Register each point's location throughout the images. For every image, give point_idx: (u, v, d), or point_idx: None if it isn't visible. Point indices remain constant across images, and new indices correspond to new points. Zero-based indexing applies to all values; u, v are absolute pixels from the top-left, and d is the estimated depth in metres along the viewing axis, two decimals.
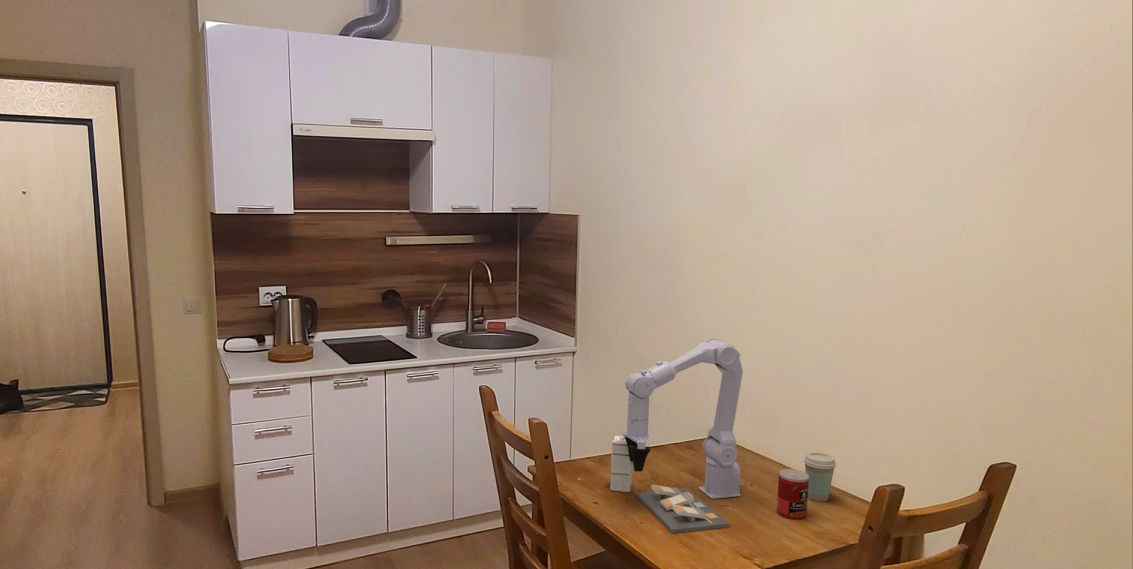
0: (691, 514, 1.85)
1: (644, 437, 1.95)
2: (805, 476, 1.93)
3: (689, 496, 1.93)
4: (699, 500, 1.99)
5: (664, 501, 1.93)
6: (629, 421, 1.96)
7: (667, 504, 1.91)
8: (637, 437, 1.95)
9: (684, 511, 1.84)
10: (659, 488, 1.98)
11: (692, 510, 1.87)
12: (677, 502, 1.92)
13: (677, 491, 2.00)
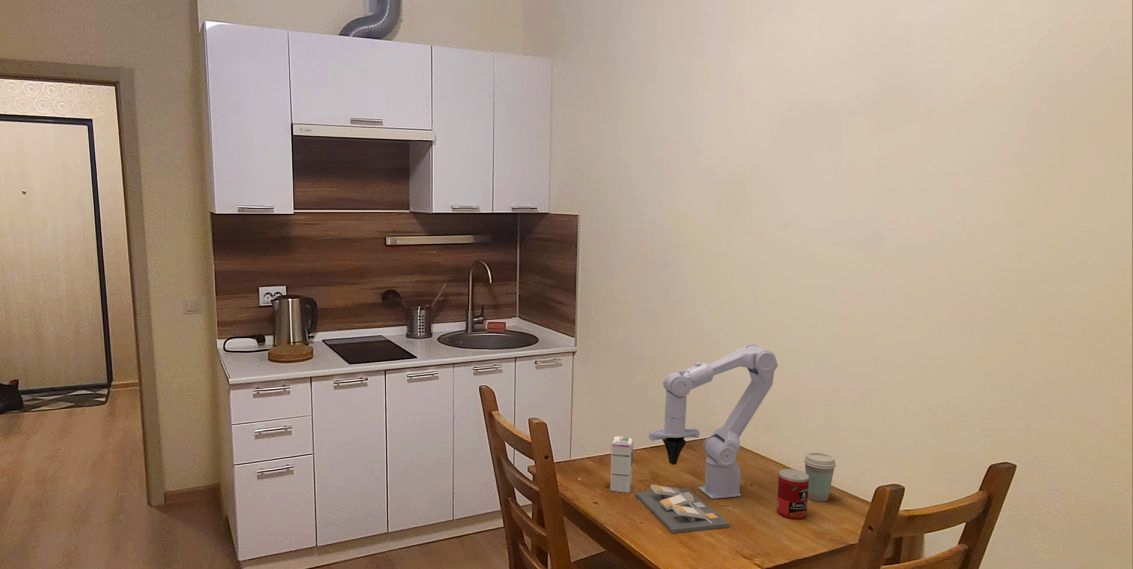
0: (691, 514, 1.85)
1: None
2: (805, 476, 1.93)
3: (689, 496, 1.93)
4: (699, 500, 1.99)
5: (664, 501, 1.93)
6: None
7: (667, 504, 1.91)
8: (663, 432, 2.02)
9: (684, 511, 1.84)
10: (659, 488, 1.98)
11: (692, 510, 1.87)
12: (677, 502, 1.92)
13: (677, 491, 2.00)
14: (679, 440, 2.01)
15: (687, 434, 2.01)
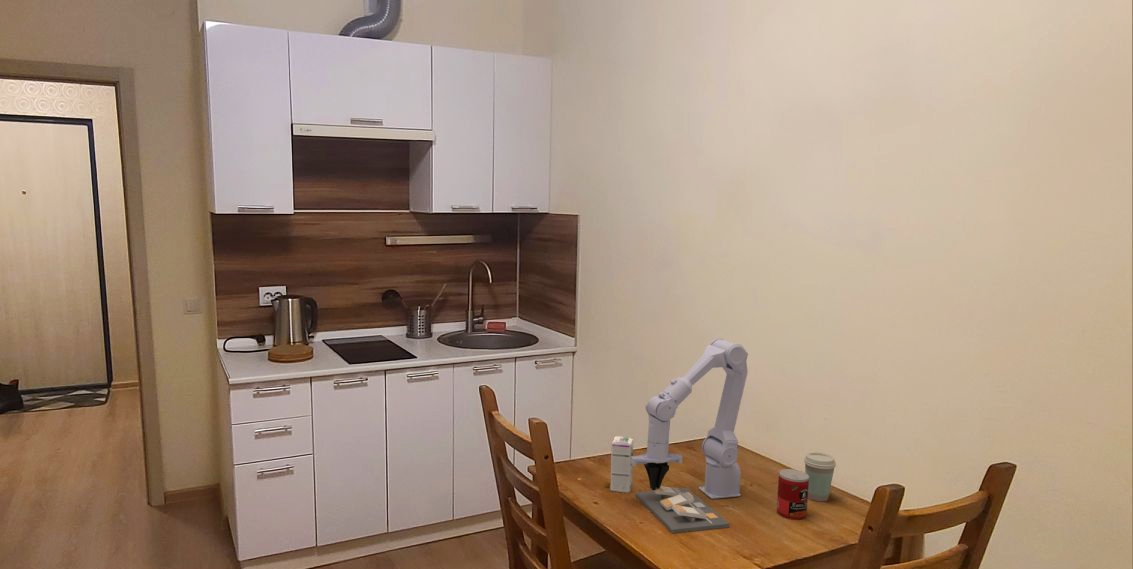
0: (691, 514, 1.85)
1: None
2: (805, 476, 1.93)
3: (689, 496, 1.93)
4: (699, 500, 1.99)
5: (664, 501, 1.93)
6: None
7: (667, 504, 1.91)
8: (646, 456, 1.98)
9: (684, 511, 1.84)
10: None
11: (692, 510, 1.87)
12: (677, 502, 1.92)
13: (677, 491, 2.00)
14: (662, 465, 1.97)
15: (670, 459, 1.97)
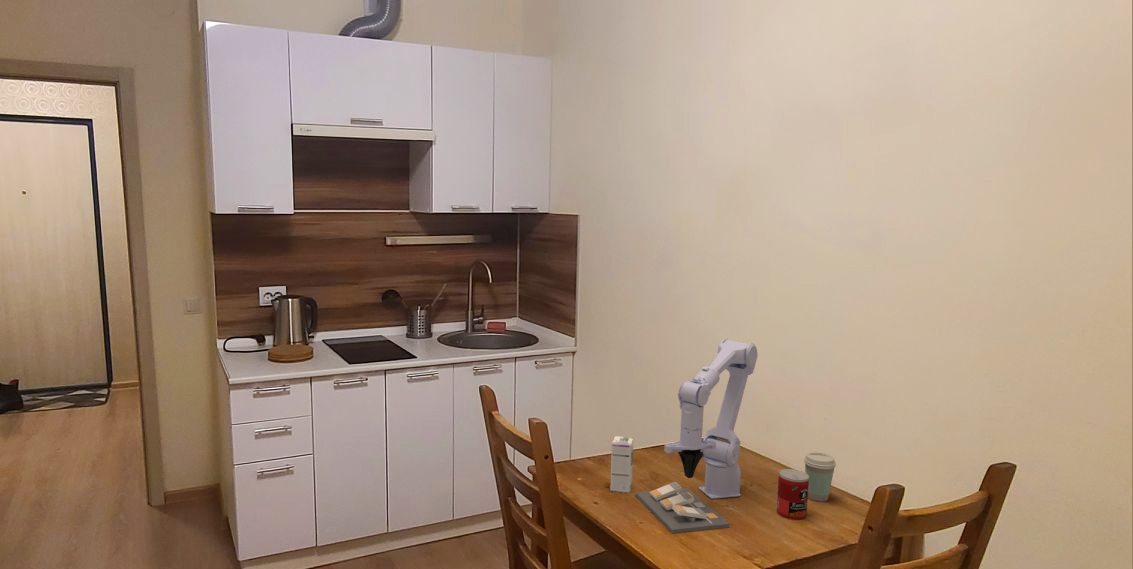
0: (691, 514, 1.85)
1: (684, 446, 1.90)
2: (805, 476, 1.93)
3: (689, 496, 1.93)
4: (699, 500, 1.99)
5: (664, 501, 1.93)
6: None
7: (667, 504, 1.91)
8: (679, 444, 1.92)
9: (684, 511, 1.84)
10: (657, 493, 1.98)
11: (692, 510, 1.87)
12: (677, 502, 1.92)
13: (675, 486, 2.00)
14: (696, 452, 1.92)
15: (704, 446, 1.92)
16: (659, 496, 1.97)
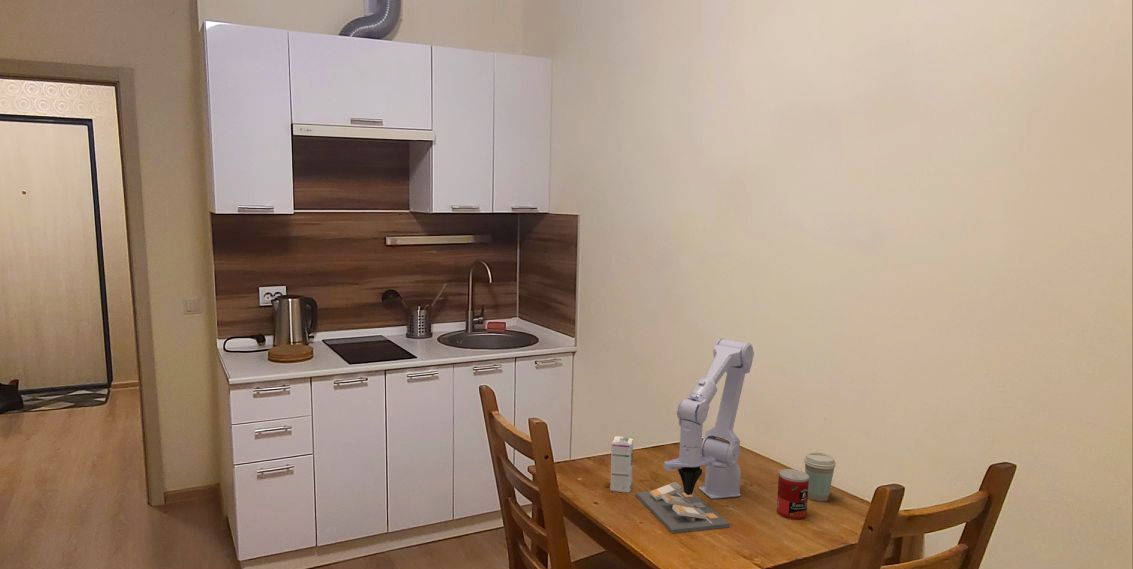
0: (691, 514, 1.85)
1: (683, 464, 1.91)
2: (805, 476, 1.93)
3: (690, 502, 1.93)
4: (699, 500, 1.99)
5: (666, 495, 1.93)
6: None
7: (669, 498, 1.91)
8: (678, 461, 1.93)
9: (684, 511, 1.84)
10: (657, 493, 1.98)
11: (692, 510, 1.87)
12: (678, 501, 1.92)
13: (675, 486, 2.00)
14: (695, 469, 1.92)
15: (703, 463, 1.92)
16: (659, 496, 1.97)
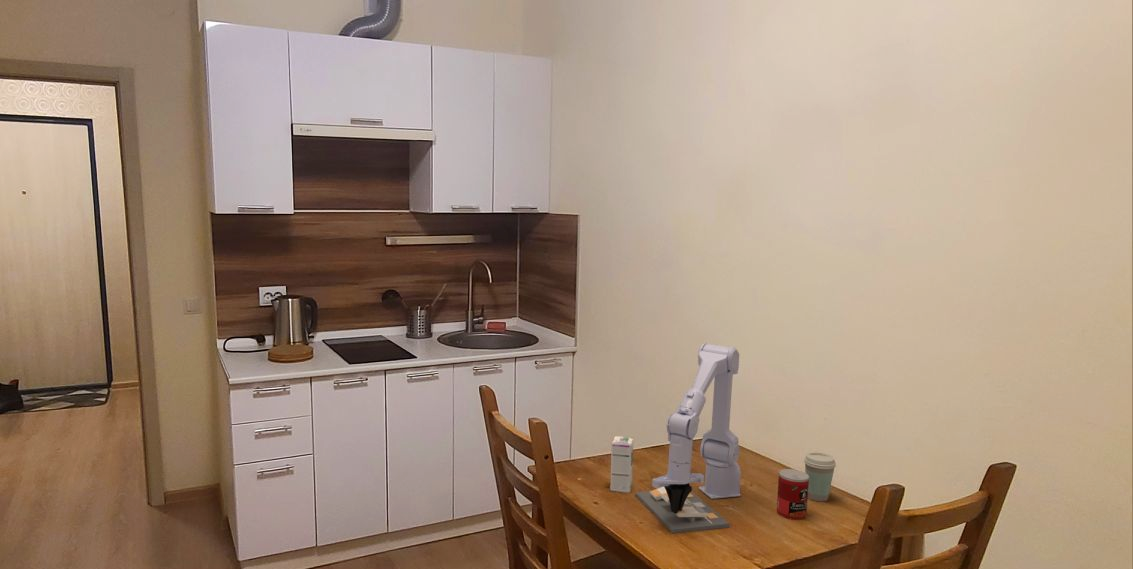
0: (691, 514, 1.85)
1: (672, 481, 1.82)
2: (805, 476, 1.93)
3: (690, 502, 1.93)
4: (699, 500, 1.99)
5: (666, 495, 1.93)
6: None
7: None
8: (667, 478, 1.84)
9: (683, 512, 1.84)
10: (657, 493, 1.98)
11: (691, 510, 1.87)
12: None
13: None
14: (684, 486, 1.84)
15: (693, 480, 1.84)
16: (659, 496, 1.97)
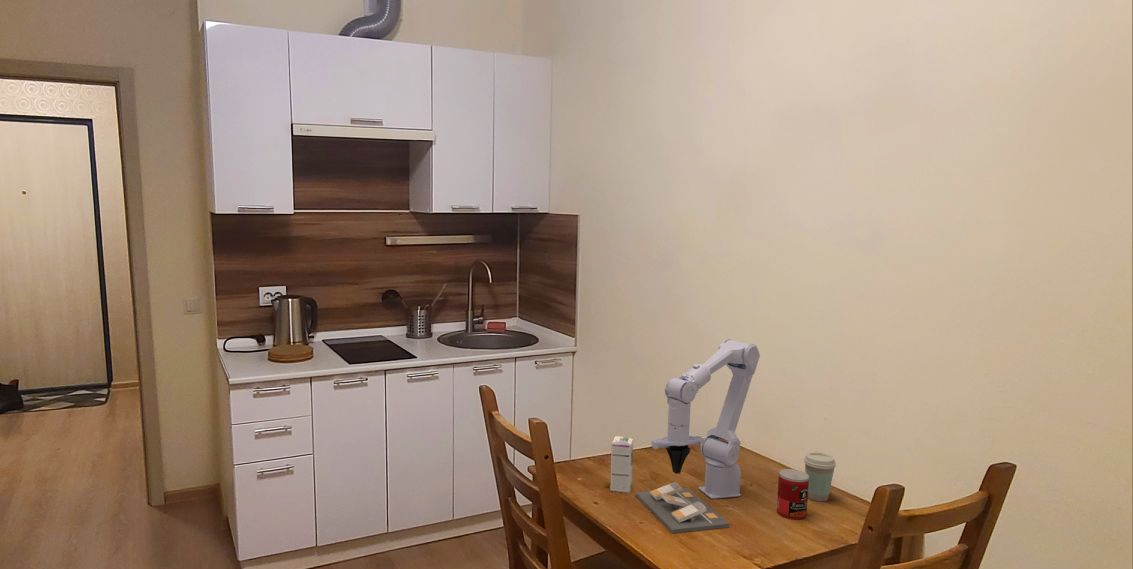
0: (691, 515, 1.85)
1: None
2: (805, 476, 1.93)
3: (690, 502, 1.93)
4: (699, 500, 1.99)
5: (666, 495, 1.93)
6: None
7: (669, 497, 1.91)
8: (667, 440, 1.94)
9: (682, 516, 1.84)
10: (657, 493, 1.98)
11: (690, 509, 1.87)
12: (679, 501, 1.92)
13: (675, 486, 2.00)
14: (683, 448, 1.93)
15: (691, 442, 1.93)
16: (659, 496, 1.97)
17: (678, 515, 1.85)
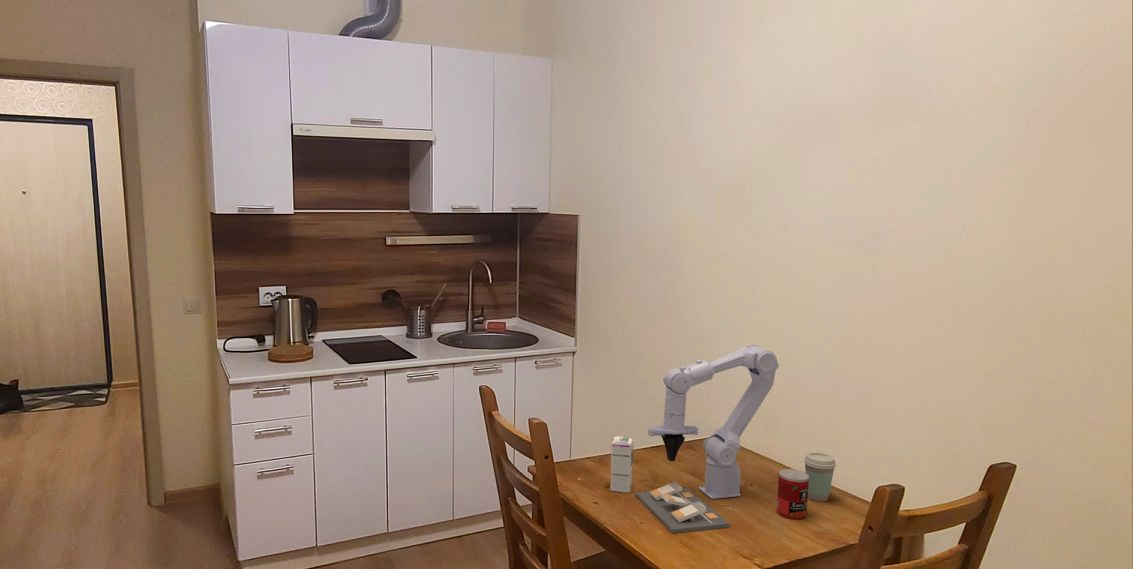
0: (691, 515, 1.85)
1: (666, 430, 2.00)
2: (805, 476, 1.93)
3: (690, 502, 1.93)
4: (699, 500, 1.99)
5: (666, 495, 1.93)
6: None
7: (669, 497, 1.91)
8: (662, 428, 2.01)
9: (682, 516, 1.84)
10: (657, 493, 1.98)
11: (690, 509, 1.87)
12: (679, 501, 1.92)
13: (675, 486, 2.00)
14: (678, 437, 2.01)
15: (686, 431, 2.01)
16: (659, 496, 1.97)
17: (678, 515, 1.85)
